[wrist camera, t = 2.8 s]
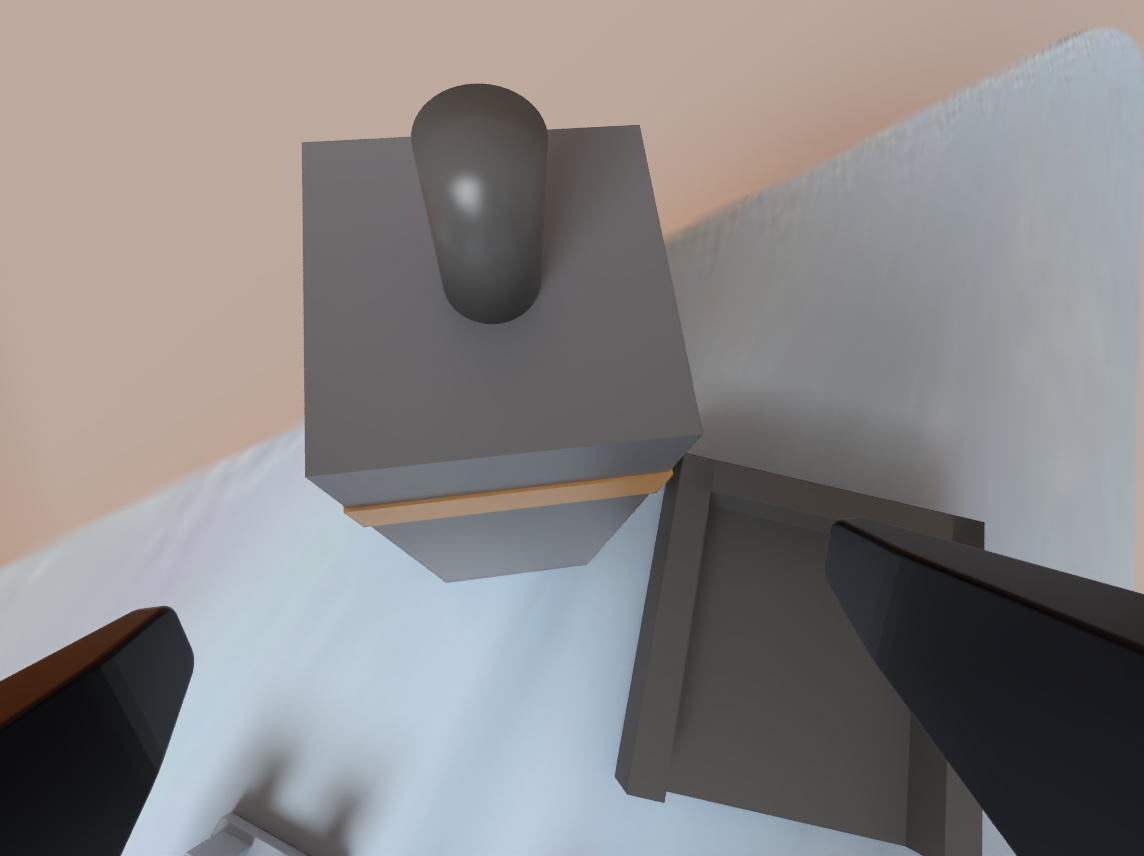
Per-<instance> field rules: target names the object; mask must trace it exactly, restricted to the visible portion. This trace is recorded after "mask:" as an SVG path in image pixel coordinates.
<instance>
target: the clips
mask: <svg viewBox="0 0 1144 856" xmlns="http://www.w3.org/2000/svg"><path fill="white" fill-rule="evenodd" d="M185 856H307V855H306V854H304V853H302V852H300V851H299V850H297V849H295V848H293V847H292V846H290V845H288V844H286V843H284V842H283V841H281V840H279V839H277V838H276V837H274V836H272V835H270V834H269V833H267V832H265V831H263V830H262V829H260V828H258V827H256V826H255V825H253V824H251V823H249V822H248V821H246V820H244V819H242V818H241V817H239V816H237V815H235V814H233V813H232V812H231V813H229V814H227V815H226V816H224V817H222V818H221V820H220V821H219V823H218V825H217V826H216V828H215V830H214V832H213V833H212V835H211V837H210V838H209V839H207V840H206V841H204V842H202V843H201V844H199V845H198V846H196V847H195V848H193V849H192V850H190V851H188V852H187V853H186V855H185Z"/></svg>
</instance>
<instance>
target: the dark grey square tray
mask: <svg viewBox="0 0 1144 856" xmlns="http://www.w3.org/2000/svg"><path fill="white" fill-rule="evenodd" d="M672 470H673V475H672V476H671V478H670V479H669V480H668V481H667V482H666V486H665V491H664V497H663V503H662V509H661V514H660V520H659V526H658V531H657V537H656V543H655V549H654V554H653V560H652V566H651V572H650V577H649V583H648V589H647V595H646V600H645V606H644V612H643V617H642V623H641V629H640V635H639V640H638V646H637V652H636V658H635V663H634V669H633V675H632V681H631V686H630V692H629V698H628V704H627V709H626V715H625V721H624V726H623V732H622V738H621V744H620V749H619V755H618V761H617V767H616V772H615V778H616V779H617V780H618V782H619V783H620V785H621V786H622V788H623V789H624V791H625V792H626V794H628V795H632V796H636V797H641V798H645V799H649V800H654V801H658V802H662V803H664V802H665V796H666V791H667V792H672V793H676V794H680V795H685V796H689V797H693V798H698V799H702V800H706V801H711V802H715V803H719V804H724V805H728V806H733V807H737V808H741V809H746V810H750V811H754V812H759V813H763V814H767V815H772V816H776V817H780V818H785V819H789V820H794V821H798V822H802V823H807V824H811V825H815V826H820V827H824V828H828V829H833V830H837V831H841V832H846V833H850V834H855V835H859V836H863V837H868V838H872V839H876V840H881V841H885V842H889V843H894V844H898V845H902V846H906V847H908V848H910V849H912V850H913V851H915V852H917V853H919V854H921V855H923V856H982V808H981V807H980V805H979V804H978V803H977V801H976V800H975V799H974V797H973V796H972V794H971V793H970V792H969V790H968V789H967V788H966V786H965V785H964V784H963V782H962V781H961V780H960V778H959V777H958V775H957V774H956V773H955V771H954V770H953V769H952V767H951V766H950V765H949V763H948V762H947V761H946V759H945V758H944V756H943V755H942V754H941V752H940V751H939V750H938V748H937V747H936V746H935V744H934V743H933V742H932V740H931V739H930V738H929V736H928V735H927V733H926V732H925V731H924V729H923V728H922V727H921V725H920V724H919V723H918V721H917V720H916V719H915V717H914V716H913V715H912V713H911V712H910V710H909V709H908V708H907V706H906V705H905V704H904V702H903V701H902V700H901V698H900V697H899V696H898V694H897V693H896V691H895V690H894V689H893V687H892V686H891V685H890V683H889V682H888V681H887V679H886V678H885V677H884V675H883V674H882V672H881V671H880V669H879V668H878V667H877V665H876V664H875V662H874V661H873V659H872V657H871V656H870V654H869V653H868V651H867V649H866V648H865V646H864V644H863V643H862V641H861V639H860V637H859V636H858V634H857V632H856V631H855V629H854V627H853V625H852V624H851V622H850V620H849V619H848V617H847V615H846V613H845V612H844V610H843V608H842V607H841V605H840V603H839V601H838V600H837V598H836V596H835V594H834V593H833V591H832V589H831V588H830V586H829V584H828V582H827V579H826V575H825V568H824V565H825V558H826V552H827V547H828V541H829V536H830V530H831V527H832V525H833V523H834V522H835V521H836V520H838V519H844V518H852V517H866V518H869V519H873V520H877V521H880V522H884V523H887V524H891V525H895V526H898V527H902V528H906V529H909V530H913V531H916V532H920V533H924V534H927V535H931V536H934V537H938V538H942V539H945V540H949V541H953V542H956V543H960V544H963V545H967V546H971V547H974V548H978V549H982V550H984V522H981V521H977V520H972V519H968V518H964V517H959V516H955V515H951V514H946V513H942V512H938V511H933V510H929V509H925V508H920V507H916V506H912V505H907V504H903V503H899V502H894V501H890V500H886V499H881V498H877V497H873V496H868V495H864V494H860V493H855V492H851V491H847V490H843V489H838V488H834V487H830V486H825V485H821V484H817V483H812V482H808V481H804V480H799V479H795V478H791V477H786V476H782V475H778V474H773V473H769V472H765V471H760V470H756V469H752V468H747V467H743V466H739V465H734V464H730V463H726V462H721V461H717V460H713V459H709V458H704V457H700V456H696V455H691V454H687V453H685V454H684V456H683V457H682V458H681V459H680V460H679V461H678V462H677V463H676V465H675V466H674V467H673V468H672Z"/></svg>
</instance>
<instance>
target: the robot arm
mask: <svg viewBox="0 0 1144 856" xmlns="http://www.w3.org/2000/svg"><path fill="white" fill-rule="evenodd" d="M824 568H825V575H826V579H827V582H828V584H829V586H830V588H831V589H832V591H833V593H834V594H835V596H836V598H837V600H838V601H839V603H840V605H841V607H842V608H843V610H844V612H845V613H846V615H847V617H848V619H849V620H850V622H851V624H852V625H853V627H854V629H855V631H856V632H857V634H858V636H859V637H860V639H861V641H862V643H863V644H864V646H865V648H866V649H867V651H868V653H869V654H870V656H871V657H872V659H873V661H874V662H875V664H876V665H877V667H878V668H879V669H880V671H881V672H882V674H883V675H884V677H885V678H886V679H887V681H888V682H889V683H890V685H891V686H892V687H893V689H894V690H895V691H896V693H897V694H898V696H899V697H900V698H901V700H902V701H903V702H904V704H905V705H906V706H907V708H908V709H909V710H910V712H911V713H912V715H913V716H914V717H915V719H916V720H917V721H918V723H919V724H920V725H921V727H922V728H923V729H924V731H925V732H926V733H927V735H928V736H929V738H930V739H931V740H932V742H933V743H934V744H935V746H936V747H937V748H938V750H939V751H940V752H941V754H942V755H943V756H944V758H945V759H946V761H947V762H948V763H949V765H950V766H951V767H952V769H953V770H954V771H955V773H956V774H957V775H958V777H959V778H960V780H961V781H962V782H963V784H964V785H965V786H966V788H967V789H968V790H969V792H970V793H971V794H972V796H973V797H974V799H975V800H976V801H977V803H978V804H979V805H980V807H981V808H982V809H983V811H984V812H985V813H986V815H987V816H988V818H989V819H990V820H991V822H992V823H993V824H994V826H995V827H996V828H997V830H998V831H999V832H1000V834H1001V835H1002V836H1003V838H1004V839H1005V841H1006V842H1007V843H1008V845H1009V846H1010V847H1011V849H1012V850H1013V851H1014V853H1015V854H1016V855H1017V856H1144V594H1141V593H1137V592H1134V591H1130V590H1127V589H1123V588H1119V587H1116V586H1112V585H1108V584H1105V583H1101V582H1098V581H1094V580H1090V579H1087V578H1083V577H1079V576H1076V575H1072V574H1069V573H1065V572H1061V571H1058V570H1054V569H1050V568H1047V567H1043V566H1040V565H1036V564H1032V563H1029V562H1025V561H1021V560H1018V559H1014V558H1011V557H1007V556H1003V555H1000V554H996V553H992V552H989V551H985V550H982V549H978V548H974V547H971V546H967V545H963V544H960V543H956V542H953V541H949V540H945V539H942V538H938V537H934V536H931V535H927V534H924V533H920V532H916V531H913V530H909V529H906V528H902V527H898V526H895V525H891V524H887V523H884V522H880V521H877V520H873V519H869V518H866V517H852V518H844V519H838V520H836V521H835V522H834V523H833V525H832V527H831V530H830V536H829V541H828V547H827V552H826V558H825V565H824ZM193 668H194V655H193V651H192V648H191V646H190V643H189V641H188V639H187V637H186V634H185V632H184V630H183V627H182V625H181V623H180V620H179V618H178V616H177V614H176V612H175V611H174V610H173V609H172V608H170V607H168V606H159V607H151V608H144V609H138V610H135V611H132V612H130V613H128V614H127V615H125V616H123V617H121V618H119V619H117V620H115V621H113V622H111V623H110V624H108V625H106V626H104V627H102V628H100V629H98V630H96V631H94V632H93V633H91V634H89V635H87V636H85V637H83V638H81V639H79V640H77V641H76V642H74V643H72V644H70V645H68V646H66V647H64V648H62V649H60V650H59V651H57V652H55V653H53V654H51V655H49V656H47V657H45V658H43V659H42V660H40V661H38V662H36V663H34V664H32V665H30V666H28V667H26V668H25V669H23V670H21V671H19V672H17V673H15V674H13V675H11V676H9V677H8V678H6V679H4V680H2V681H0V856H121V854H122V852H123V850H124V847H125V845H126V843H127V841H128V839H129V837H130V835H131V832H132V830H133V828H134V826H135V824H136V822H137V819H138V817H139V815H140V813H141V811H142V809H143V807H144V804H145V802H146V800H147V798H148V796H149V794H150V791H151V789H152V787H153V784H154V782H155V780H156V778H157V775H158V773H159V770H160V768H161V765H162V762H163V760H164V757H165V754H166V751H167V748H168V745H169V742H170V739H171V736H172V733H173V730H174V727H175V724H176V721H177V718H178V715H179V712H180V709H181V706H182V703H183V700H184V697H185V695H186V692H187V689H188V686H189V683H190V680H191V677H192V673H193Z"/></svg>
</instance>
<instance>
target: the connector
mask: <svg viewBox="0 0 1144 856" xmlns="http://www.w3.org/2000/svg"><path fill="white" fill-rule="evenodd" d="M302 185H303V186H302V187H303V291H304V386H305V387H304V389H305V390H304V391H305V477H306V478H307V479H309V480H310V481H311V482H313V483H314V484H315V485H317V486H318V487H319V488H321V489H322V490H323V491H325V492H326V493H327V494H329V495H330V496H331V497H333V498H334V499H335V500H337V501H338V502H339V503H341V504H342V505H343V506H344V513H345V514H346V515H348V516H349V517H351V518H352V519H353V520H355V521H356V522H358V523H359V524H360V525H362V526H363V527H370V526H371V527H373V528H374V529H375V530H377V531H378V532H379V533H381V534H382V535H383V536H385V537H386V538H387V539H389V540H390V541H391V542H393V543H394V544H395V545H397V546H398V547H399V548H401V549H402V550H403V551H405V552H406V553H407V554H409V555H410V556H411V557H413V558H414V559H415V560H417V561H418V562H419V563H421V564H422V565H423V566H425V567H426V568H427V569H429V570H430V571H431V572H433V573H434V574H435V575H437V576H438V577H439V578H441V579H442V580H443V581H445V582H446V583H448V582H456V581H464V580H471V579H479V578H487V577H495V576H502V575H510V574H518V573H525V572H533V571H541V570H548V569H556V568H564V567H572V566H579V565H587V564H588V563H589V561H590V560H591V559H592V558H593V557H594V556H595V555H596V554H597V552H598V551H599V550H600V549H601V548H602V547H603V546H604V545H605V543H606V542H607V541H608V540H609V539H610V538H611V537H612V536H613V534H614V533H615V532H616V531H617V530H618V529H619V528H620V527H621V525H622V524H623V523H624V522H625V521H626V520H627V519H628V518H629V516H630V515H631V514H632V513H633V512H634V511H635V510H636V509H637V507H638V506H639V505H640V504H641V503H642V502H643V501H644V500H645V498H646V497H647V496H648V495H649V494H650V493H657V492H658V490H659V489H660V488H661V487H662V486H663V485H664V484H665V483H666V482H667V481H668V480H669V479H670V478H671V476H672V475H673V470H672V468H673V467H674V466H675V465H676V463H677V462H678V461H679V460H680V459H681V458H682V457H683V456H684V454H685V453H686V452H687V451H688V450H689V449H690V448H691V447H692V445H693V444H694V443H695V442H696V441H697V440H698V439H699V438H700V436H701V435H702V434H703V432H702V427H701V422H700V417H699V413H698V408H697V403H696V398H695V393H694V388H693V383H692V378H691V374H690V369H689V364H688V359H687V354H686V349H685V344H684V339H683V335H682V330H681V325H680V320H679V315H678V310H677V305H676V300H675V296H674V291H673V286H672V281H671V276H670V271H669V266H668V261H667V257H666V252H665V247H664V242H663V237H662V232H661V227H660V222H659V218H658V213H657V208H656V203H655V198H654V193H653V188H652V183H651V179H650V174H649V169H648V164H647V159H646V154H645V149H644V145H643V140H642V135H641V130H640V125H629V126H611V127H610V126H609V127H591V128H572V129H552V130H547V129H546V125H545V123H544V120H543V118H542V117H541V115H540V113H539V112H538V111H537V109H536V108H535V107H534V106H533V105H532V104H531V103H530V102H529V101H528V100H526V99H525V98H524V97H522V96H521V95H519V94H517V93H515V92H513V91H511V90H509V89H506V88H503V87H500V86H495V85H489V84H466V85H461V86H457V87H453V88H450V89H448V90H445V91H443V92H441V93H440V94H438V95H436V96H435V97H433V98H432V99H431V100H430V101H428V102H427V103H426V104H425V105H424V106H423V108H422V109H421V110H420V111H419V113H418V115H417V116H416V118H415V121H414V124H413V127H412V132H411V137H399V138H380V139H360V140H341V141H324V142H323V141H322V142H304V143H302Z"/></svg>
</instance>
